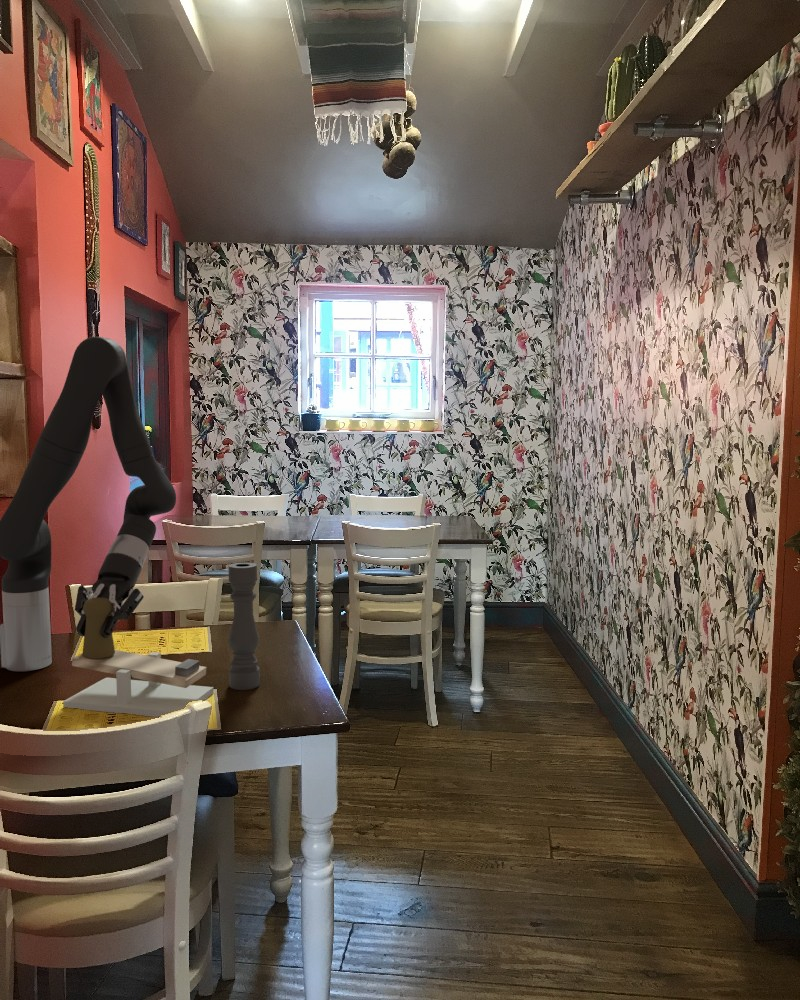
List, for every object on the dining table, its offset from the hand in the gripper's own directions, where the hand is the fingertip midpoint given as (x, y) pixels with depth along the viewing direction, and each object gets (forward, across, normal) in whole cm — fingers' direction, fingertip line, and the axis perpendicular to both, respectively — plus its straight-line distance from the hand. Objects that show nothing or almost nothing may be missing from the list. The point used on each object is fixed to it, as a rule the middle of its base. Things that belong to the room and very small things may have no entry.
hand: (92, 634), depth 153 cm
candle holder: (-1, +25, +20) cm, 32 cm away
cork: (+2, 0, +5) cm, 5 cm away
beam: (+4, +9, +6) cm, 11 cm away
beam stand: (+8, +9, +10) cm, 16 cm away
